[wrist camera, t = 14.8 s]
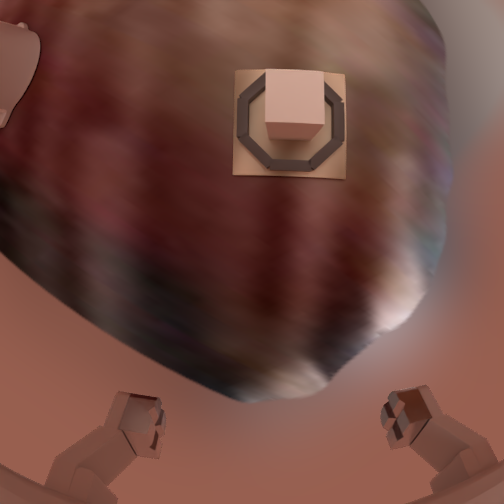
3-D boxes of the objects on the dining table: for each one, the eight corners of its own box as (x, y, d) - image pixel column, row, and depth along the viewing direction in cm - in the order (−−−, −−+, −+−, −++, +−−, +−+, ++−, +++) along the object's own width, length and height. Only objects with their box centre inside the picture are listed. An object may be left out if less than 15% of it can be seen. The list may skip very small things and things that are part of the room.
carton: (269, 139, 28) (265, 121, 19) (269, 100, 27) (265, 69, 18) (310, 141, 27) (324, 124, 19) (310, 102, 26) (323, 71, 18)
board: (234, 175, 30) (230, 174, 27) (236, 73, 27) (232, 64, 25) (343, 179, 29) (349, 179, 26) (342, 77, 26) (347, 69, 24)
